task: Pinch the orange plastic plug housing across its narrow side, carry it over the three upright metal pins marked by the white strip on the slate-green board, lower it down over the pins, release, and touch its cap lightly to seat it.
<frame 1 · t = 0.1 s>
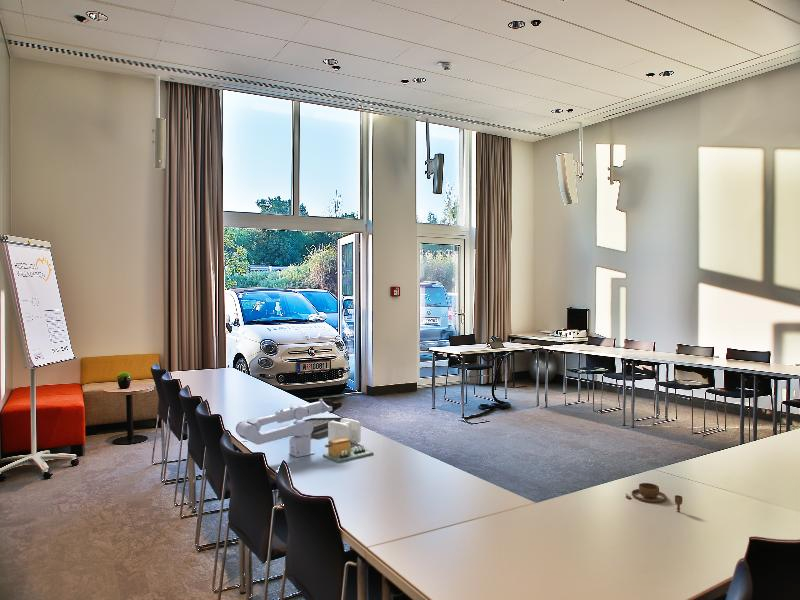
hand: (336, 403, 279), 22 cm above the table, tool horizontal, fingers open, 7 cm apart
place setting: (652, 503, 207), on the table
board: (348, 455, 264), on the table
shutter: (314, 430, 316), on the table
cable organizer: (344, 444, 285), on the table
header: (359, 454, 266), resting on board
plug housing: (339, 453, 265), point 1 cm above the table, touching board
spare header: (344, 459, 258), resting on board
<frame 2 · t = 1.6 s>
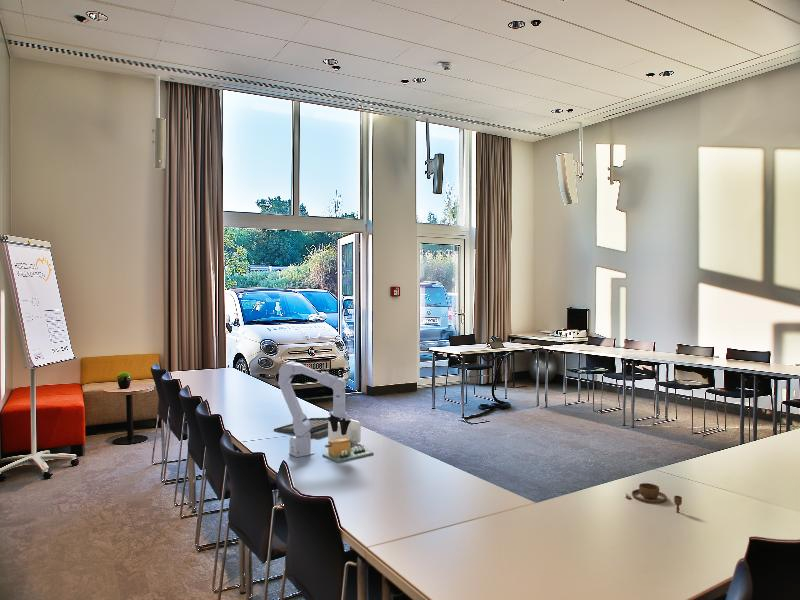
hand: (339, 433, 265), 10 cm above the table, tool pointing down, fingers open, 7 cm apart
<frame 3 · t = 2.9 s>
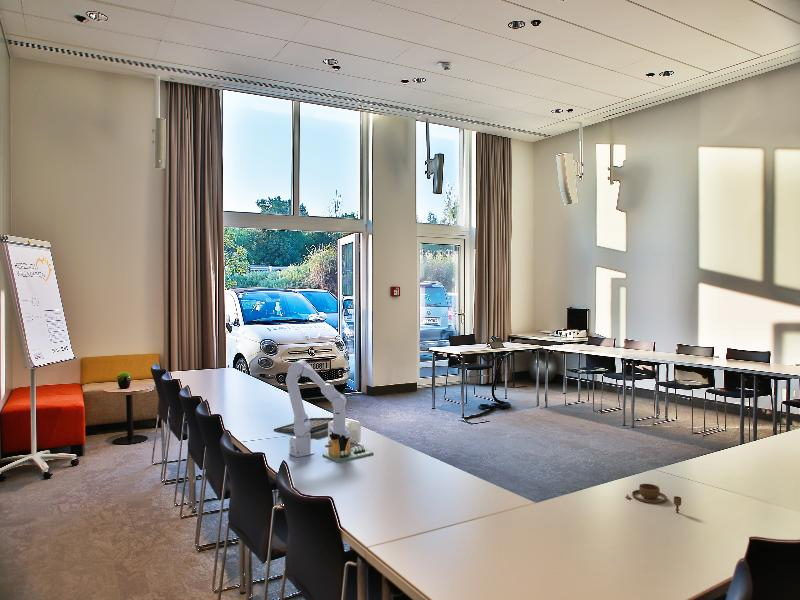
hand: (339, 450, 265), 2 cm above the table, tool pointing down, fingers closed on plug housing, 5 cm apart
plug housing: (339, 453, 265), point 1 cm above the table, touching board, gripper
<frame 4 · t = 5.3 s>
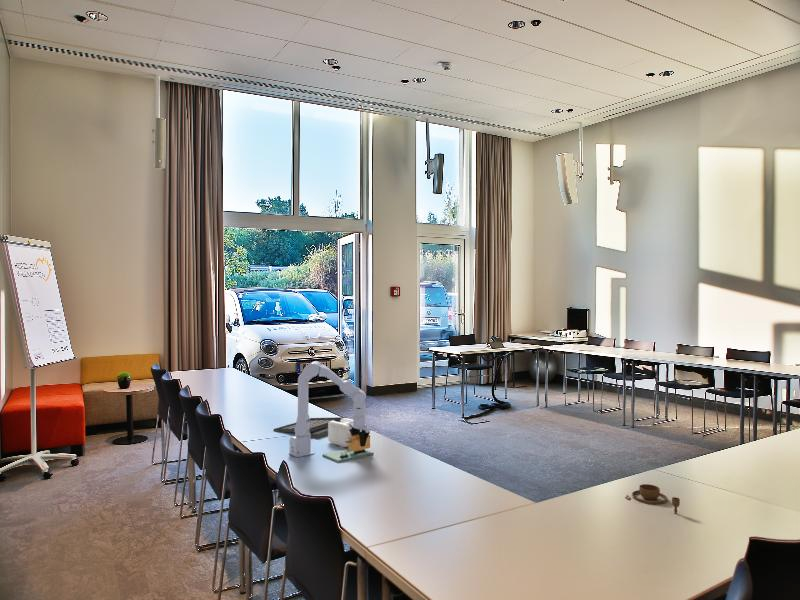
hand: (359, 444, 266), 4 cm above the table, tool pointing down, fingers closed on plug housing, 5 cm apart
plug housing: (359, 448, 266), point 3 cm above the table, touching gripper
when the fingers open (3 cm above the table, at t = 6.1 s): plug housing stays where it is, resting on board.
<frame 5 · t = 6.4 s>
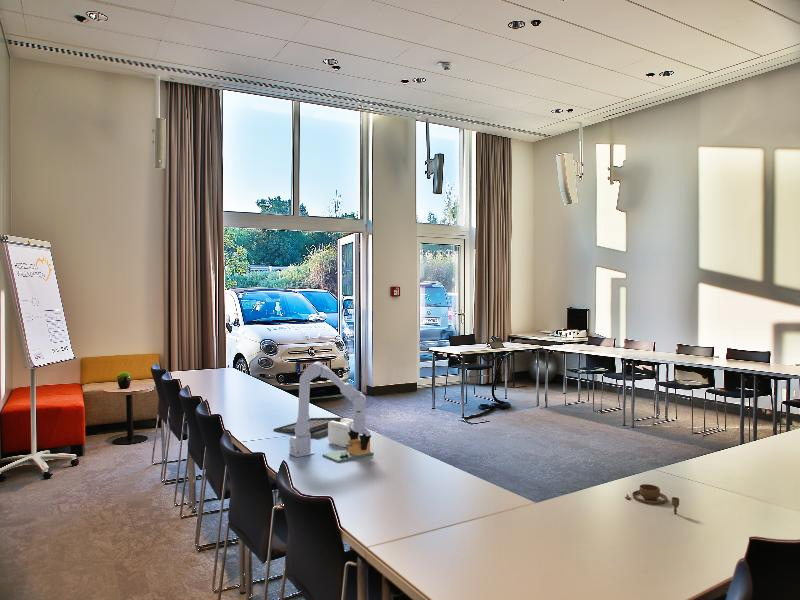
hand: (359, 448, 266), 3 cm above the table, tool pointing down, fingers open, 7 cm apart
plug housing: (359, 452, 266), point 1 cm above the table, touching board
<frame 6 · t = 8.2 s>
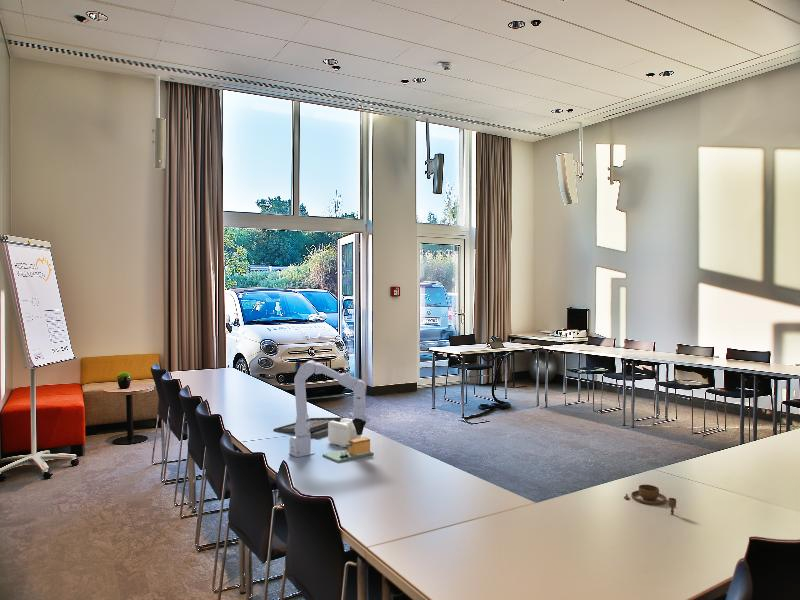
hand: (359, 434, 266), 9 cm above the table, tool pointing down, fingers closed
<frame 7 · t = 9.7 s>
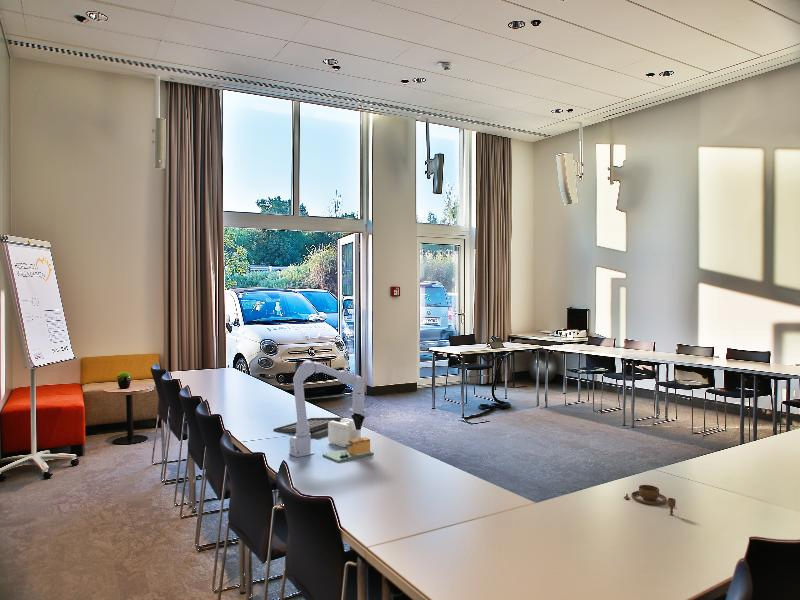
hand: (358, 429, 272), 10 cm above the table, tool pointing down, fingers closed
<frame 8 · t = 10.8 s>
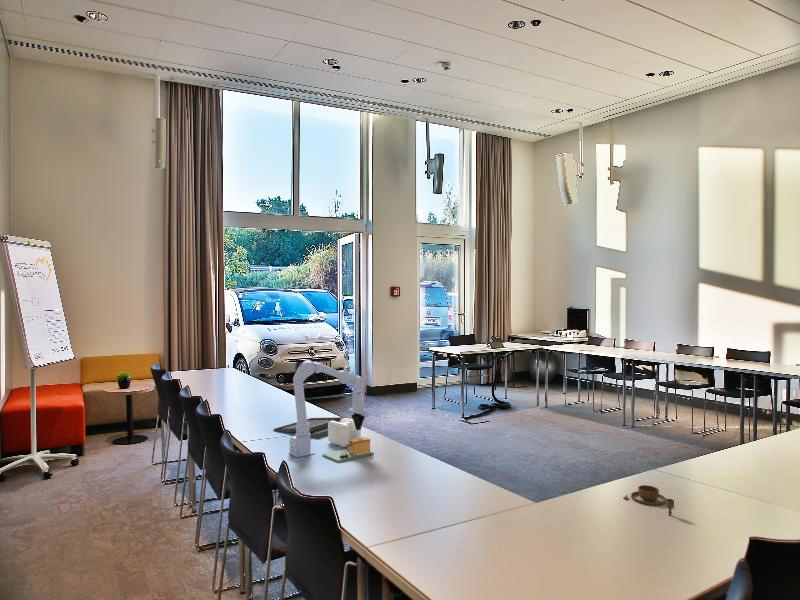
hand: (358, 429, 272), 10 cm above the table, tool pointing down, fingers closed
at the end: plug housing 0.0 cm off-centre on the header, point 1.0 cm above the header's base; plug housing tilted 0°; the gripper is holding nothing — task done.
